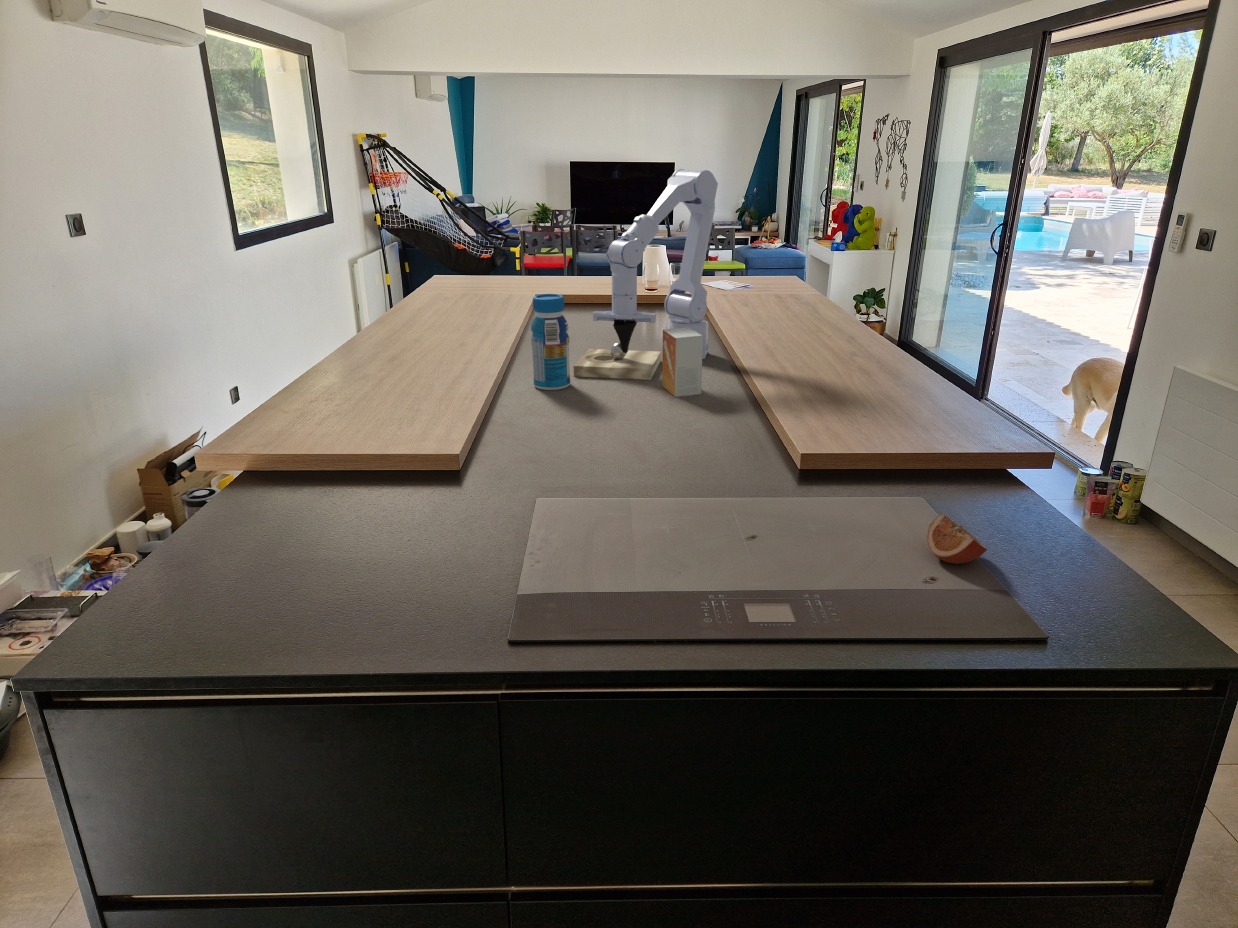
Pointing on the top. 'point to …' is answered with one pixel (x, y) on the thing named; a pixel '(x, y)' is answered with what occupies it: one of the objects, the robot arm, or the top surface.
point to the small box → (682, 361)
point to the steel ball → (617, 351)
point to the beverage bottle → (550, 343)
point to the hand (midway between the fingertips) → (624, 352)
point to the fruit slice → (952, 541)
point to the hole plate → (618, 364)
